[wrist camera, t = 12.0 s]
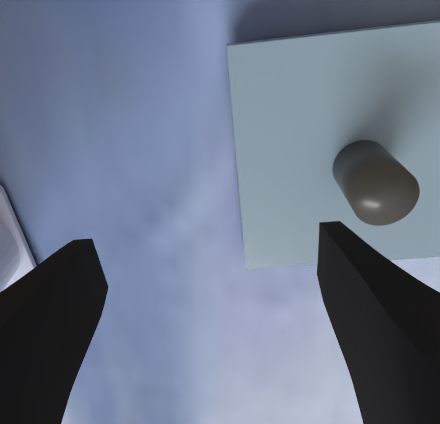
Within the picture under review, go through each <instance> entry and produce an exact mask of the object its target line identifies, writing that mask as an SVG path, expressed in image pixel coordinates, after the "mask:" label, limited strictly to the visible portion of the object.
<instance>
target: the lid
mask: <svg viewBox="0 0 440 424" xmlns="http://www.w3.org/2000/svg"><path fill="white" fill-rule="evenodd" d="M227 57H228V69H229V81H230V92H231V104H232V115H233V127H234V138H235V150H236V162H237V173H238V185H239V196H240V208H241V220H242V231H243V243H244V254H245V266H246V269H261V268H277V267H292V266H307V265H318V244H319V222H331V221H341V222H342V223H343V224H344V225H346V226H347V227H348V228H349V229H350V230H352V231H353V232H354V233H355V234H356V235H358V236H359V237H360V238H361V239H363V240H364V241H365V242H366V243H367V244H369V245H370V246H371V247H372V248H374V249H375V250H376V251H378V252H379V253H380V254H382V255H383V256H384V257H386V258H387V259H388V260H398V259H413V258H428V257H440V20H434V21H425V22H416V23H407V24H398V25H389V26H380V27H371V28H362V29H353V30H344V31H335V32H326V33H317V34H308V35H299V36H290V37H281V38H272V39H264V40H255V41H246V42H237V43H228V44H227Z"/></svg>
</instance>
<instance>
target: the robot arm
mask: <svg viewBox="0 0 440 424" xmlns="http://www.w3.org/2000/svg"><path fill="white" fill-rule="evenodd" d="M317 276H318V280H319V285H320V289H321V294H322V298H323V302H324V305H325V308H326V310H327V313H328V316H329V318H330V321H331V324H332V327H333V329H334V332H335V335H336V337H337V340H338V343H339V345H340V348H341V351H342V353H343V356H344V359H345V361H346V364H347V366H348V369H349V373H350V376H351V379H352V382H353V385H354V389H355V393H356V397H357V400H358V404H359V408H360V412H361V415H362V419H363V423H364V424H440V293H439V292H438V291H436V290H434V289H432V288H431V287H429V286H427V285H426V284H424V283H422V282H421V281H419V280H418V279H416V278H414V277H413V276H411V275H410V274H408V273H407V272H405V271H404V270H403V269H401V268H400V267H398V266H397V265H395V264H394V263H392V262H391V261H390V260H388V259H387V258H386V257H384V256H383V255H382V254H380V253H379V252H378V251H376V250H375V249H374V248H372V247H371V246H370V245H369V244H367V243H366V242H365V241H364V240H363V239H361V238H360V237H359V236H358V235H356V234H355V233H354V232H353V231H352V230H350V229H349V228H348V227H347V226H346V225H344V224H343V223H342V222H341V221H331V222H319V244H318V266H317ZM107 291H108V284H107V281H106V278H105V275H104V273H103V270H102V267H101V264H100V261H99V258H98V255H97V252H96V249H95V246H94V243H93V240H92V239H80V240H73V241H71V242H70V243H68V244H67V245H65V246H64V247H62V248H61V249H59V250H58V251H57V252H55V253H54V254H52V255H51V256H50V257H48V258H47V259H46V260H44V261H43V262H42V263H40V264H39V265H38V266H37V265H36V263H35V260H34V258H33V256H32V253H31V251H30V249H29V246H28V244H27V242H26V239H25V237H24V235H23V232H22V230H21V228H20V225H19V223H18V221H17V218H16V216H15V214H14V211H13V209H12V207H11V204H10V202H9V200H8V197H7V195H6V193H5V190H4V188H3V187H2V186H1V185H0V424H61V422H62V419H63V415H64V412H65V409H66V405H67V402H68V399H69V395H70V392H71V389H72V387H73V384H74V381H75V379H76V376H77V374H78V371H79V369H80V366H81V364H82V362H83V359H84V357H85V354H86V352H87V350H88V347H89V345H90V342H91V340H92V337H93V335H94V333H95V330H96V328H97V325H98V323H99V320H100V317H101V315H102V311H103V307H104V304H105V300H106V295H107Z"/></svg>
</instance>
